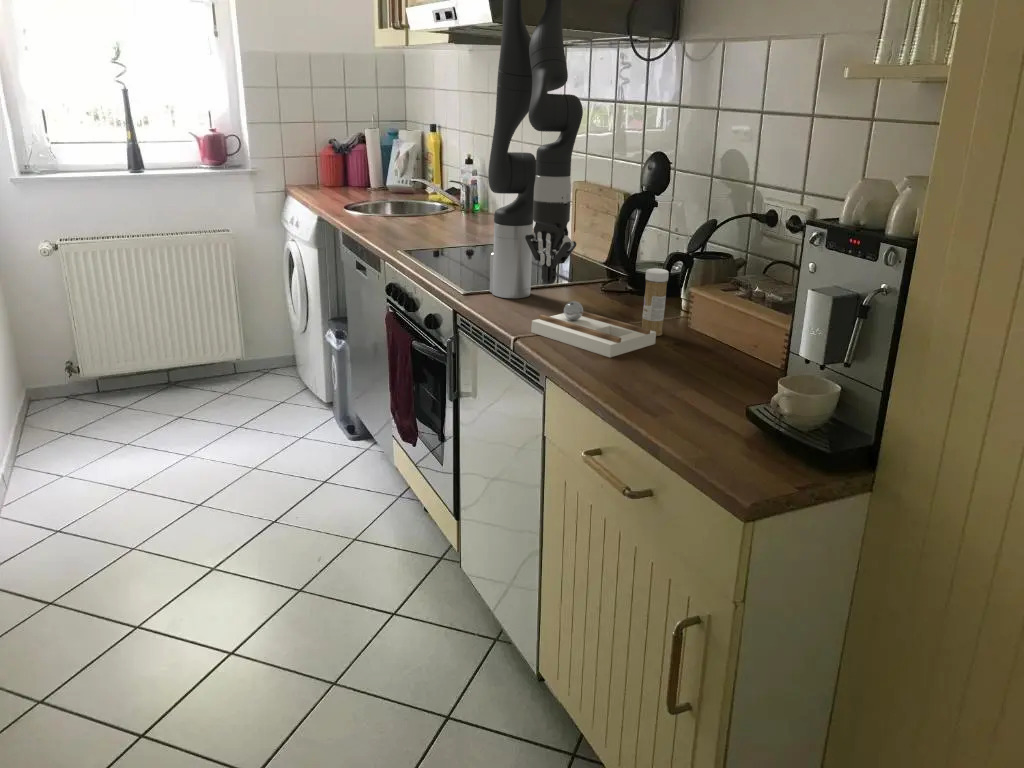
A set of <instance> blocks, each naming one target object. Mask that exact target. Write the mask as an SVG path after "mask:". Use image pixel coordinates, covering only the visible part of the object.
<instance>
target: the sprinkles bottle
mask: <svg viewBox="0 0 1024 768" xmlns="http://www.w3.org/2000/svg"><path fill="white" fill-rule="evenodd" d="M669 273H670V272H669V271H668V270H667V269H664V268H655V267H654V268H649V269H646V270H645V277H644V278H645V288H644V289H645V291H644V296H643V297H644V298H643V309H642V319H641V327H642V328H646V329H649V330H651V331H655V332H656V337H659V336H662V335H663V325H664V317H665V309H666V299H667V286H668V285H667V284H668V281H669Z"/></svg>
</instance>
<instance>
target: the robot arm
mask: <svg viewBox="0 0 1024 768" xmlns="http://www.w3.org/2000/svg"><path fill="white" fill-rule="evenodd" d="M544 2H545V3H544V4H545V5H544V10H543V13H542V15H541V17H540V19H539V21H538V22H537V24H536V27H535V29H534V31H533V33H532V34H531V35H530V33H529V30H528V29H527V27H526V23H525V19H524V16H523V9H522V0H502V26H501V28H502V29H501V30H502V31H501V40H500V50H499V51H500V52H499V59H498V68H497V78H496V79H497V80H496V85H497V86H496V100H495V101H496V102H495V104H496V105H495V114H494V115H495V117H494V128H493V135H492V141H491V147H490V148H491V149H490V155H489V163H488V172H487V173H488V174H487V175H488V177H487V178H488V186H489V189H490V190H491V192H492V193H494V194H506V195H507V194H509V195H510V194H511V195H513V194H517V197H516V198H515V199H514V200H513V201H512V202H510V203H509V204H506V205H505V206H501V207H499V208H497V209H496V210H495V211H494V213H493V252H491V253H490V256H489V259H490V260H489V261H490V263H489V293H491V294H492V295H493V296H496V297H498V298H502V299H503V298H504V299H523V298H528V297H529V296H531V287H532V286H531V284H532V283H531V282H532V258H534V260H535V261H536V262H537V261H538V262H539V263H540V264H541V280H542V283H544V284H548V285H551V284H554V283H555V281H556V279H557V267H558V265H561V264H565V262H566V261H567V259H568V258H569V257H570V256H571V254H572V252H573V251H574V250H575V248H576V246H577V242H576V241H573V240H572V239H570V237H569V230H568V224H569V222H570V219H571V198H572V182H571V173H572V172H571V171H572V158H573V157H572V155H573V150H574V145H575V143H576V139H577V136H578V133H579V129H580V127H581V124H582V120H583V113H584V110H583V109H584V108H583V105H582V102H581V100H580V98H579V97H578V96H576V95H575V94H569V93H568V94H566V93H563V94H561V93H548V92H551V91H555V90H559V89H561V88H563V87H564V86H565V85H566V83H567V82H568V78H569V73H568V65H567V58H566V53H565V46H564V35H563V34H564V33H563V0H544ZM527 115H528V121H529V123H530V125H531V126H532V128H533V130H534V129H535V130H536V131H537V132H546V133H547V132H549V133H550V132H554V133H557V132H559V136H558V137H557V139H556V140H555V141H554V142H551V143H546V144H542V145H540V146H538V148H537V150H536V154H533V153H531V152H518V151H517V152H515V151H512V152H511V151H510V152H509V148H510V144H511V141H512V139H513V136H514V134H515V132H516V130H517V129H518V127H519V126H520V124H521V122H522V121H523V120H524V118H526V116H527ZM535 155H536V156H535ZM534 223H535V224H534Z"/></svg>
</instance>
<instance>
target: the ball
mask: <svg viewBox="0 0 1024 768" xmlns="http://www.w3.org/2000/svg"><path fill="white" fill-rule="evenodd" d="M583 311H584V308H583V305H582V303H580V302H579V301H575V300H572V301H569V302H567V303H566V304H565V306H564V307H563V313H564V315H565V317H566V318H567V319H569V320H572V321H575V320H578V319H579V318H581V316H582V314H583Z"/></svg>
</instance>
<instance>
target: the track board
mask: <svg viewBox="0 0 1024 768" xmlns="http://www.w3.org/2000/svg"><path fill="white" fill-rule="evenodd" d="M530 328H531V329H530V331H531V333H532V334H535V335H539V336H542V337H545V338H548V339H551V340H554V341H557V342H561V343H563V344H566V345H569V346H572V347H576V348H579V349H582V350H584V351H588V352H591V353H594V354H598V355H600V356H604V357H607V358H613V357H616V356H620V355H623V354H626V353H630V352H633V351H636V350H639V349H643V348H645V347H649V346H653V345H656V337H657V336H656V332H655V331H651V330H649V329H646V328H642V326H639V325H634V324H632V323H627V322H625V321H624V322H623V321H620V320H616V319H613V318H609V317H606V316H603V315H599V314H596V313H591V312H588V311H585V310H583V314H582V316H581V318H579V319H578V320H575V321H572V320H569V319H567V318H566V317H565V315H564V312H562V313H559V314H555V315H551V316H548V315H545V314H539V315H538V319H533V320H532V319H531V327H530Z"/></svg>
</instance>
